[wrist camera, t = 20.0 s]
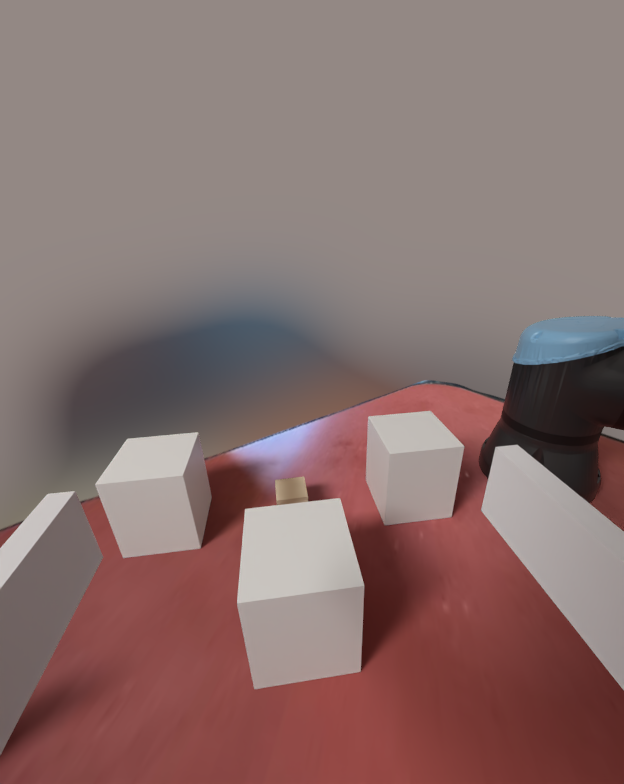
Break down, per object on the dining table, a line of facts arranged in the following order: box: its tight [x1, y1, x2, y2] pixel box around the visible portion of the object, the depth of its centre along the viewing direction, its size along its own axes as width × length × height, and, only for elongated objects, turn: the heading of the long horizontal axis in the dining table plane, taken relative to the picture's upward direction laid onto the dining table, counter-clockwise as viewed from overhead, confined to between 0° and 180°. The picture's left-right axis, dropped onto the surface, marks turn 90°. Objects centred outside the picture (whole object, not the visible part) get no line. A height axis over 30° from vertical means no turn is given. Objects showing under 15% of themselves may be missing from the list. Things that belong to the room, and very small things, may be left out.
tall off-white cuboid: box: [237, 498, 364, 689], centre depth 30 cm, size 9×9×11 cm
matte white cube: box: [366, 411, 464, 525], centre depth 45 cm, size 9×9×11 cm
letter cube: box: [275, 477, 308, 505], centre depth 45 cm, size 4×4×4 cm
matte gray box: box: [95, 433, 212, 558], centre depth 42 cm, size 9×9×11 cm
